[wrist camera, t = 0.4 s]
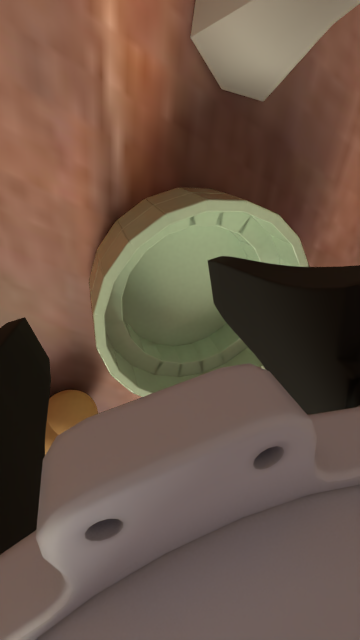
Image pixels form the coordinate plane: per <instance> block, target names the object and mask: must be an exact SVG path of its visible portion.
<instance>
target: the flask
mask: <svg viewBox="0 0 360 640" xmlns="http://www.w3.org/2000/svg"><path fill="white" fill-rule="evenodd" d="M358 4H360V0H196V1H195V8H194V15H193V23H192V30H191V37H190V38H191V39H192V41H193V43H194V44H195V46H196V48H197V49H198V51H199V53H200V54H201V56H202V57H203V59H204V61H205V62H206V64H207V66H208V67H209V69H210V71H211V72H212V74H213V76H214V77H215V79H216V81H217V82H218V84H219V86H220V87H221V89H223V90H226V91H229V92H233V93H236V94H239V95H243V96H246V97H250V98H253V99H256V100H260V101H264V100H265V99H266V98H267V97H268V96H269V95H270V94H271V93H272V92H273V91H274V89H275V88H276V87H277V86H278V85H279V84H280V83H281V82H282V81H283V79H284V78H285V77H286V76H287V75H288V74H289V73H290V72H291V71H292V70H293V68H294V67H295V66H296V65H297V64H298V63H299V62H300V61H301V60H302V58H303V57H304V56H305V55H306V54H307V53H308V52H309V50H310V49H311V48H312V47H313V46H314V45H315V43H316V42H317V41H318V40H319V39H320V38H321V37H322V36H323V35H324V34H325V33H326V31H327V30H328V29H329V28H330V27H331V26H332V25H333V24H334V23H335V22H337V21H338V20H339V19H340V18H342V17H343V16H344V15H346V14H347V13H348V12H349V11H351V10H352V9H353V8H354V7H356V6H357V5H358Z"/></svg>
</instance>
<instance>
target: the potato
mask: <svg viewBox="0 0 360 640" xmlns="http://www.w3.org/2000/svg"><path fill="white" fill-rule="evenodd" d="M96 414H98V411H97V407H96V404H95V402H94V401H93V400H92V398H91V397H90V396H89V395H87V394H86V393H84V392H81V391H78V390H65V391H61V392H59V393H57V394H55V395H53V396H52V397H51V398H49V405H48V414H47V423H46V433H45V455H46V453H47V452H48V450H49V448H50V447H51V445H52V443H53V442H54V440H55V438H56V437H57V436H58V435H60V434H61V433H63V432H64V431H66V430H68V429H69V428H71V427H73V426H74V425H76V424H78V423H79V422H81V421H83V420H84V419H86V418H88V417H91V416H93V415H96Z"/></svg>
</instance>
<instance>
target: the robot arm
mask: <svg viewBox="0 0 360 640" xmlns="http://www.w3.org/2000/svg"><path fill="white" fill-rule="evenodd" d="M207 261H208V267H209V274H210V281H211V288H212V295H213V302H214V305H215V306H216V308H217V310H218V311H219V313H220V315H221V316H222V318H223V319H224V321H225V322H226V323H227V324H228V325H229V326H230V327H231V329H232V330H233V331H234V332H235V333H236V334H237V335H238V336H239V338H240V339H241V340H242V341H243V342H244V343H245V344H246V345H247V347H248V348H249V349H250V350H251V351H252V352H253V353H254V354H255V356H256V357H257V358H258V359H259V361H260V362H261V363H262V365H263V366H264V367H265V369H266V370H265V369H262V368H260V367H258V366H255V365H253V364H250V363H248V364H241V365H235V366H229V367H222V368H219V369H216V370H213V371H211V372H208V373H205V374H203V375H200V376H197V377H195V378H192V379H189V380H187V381H184V382H181V383H179V384H176V385H173V386H171V387H168V388H165V389H163V390H160V391H157V392H155V393H152V394H149V395H147V396H144V397H141V398H139V399H136V400H133V401H131V402H128V403H125V404H123V405H120V406H117V407H115V408H112V409H109V410H107V411H104V412H101V413H99V414H96V415H93V416H91V417H88V418H86V419H84V420H83V421H81V422H79V423H78V424H76V425H74V426H73V427H71V428H69V429H68V430H66V431H64V432H63V433H61V434H60V435H58V436H57V437H56V438H55V440H54V442H53V443H52V445H51V447H50V448H49V450H48V452H47V453H46V455H45V433H46V423H47V414H48V405H49V395H50V384H51V375H50V362H49V358H48V356H47V354H46V353H45V351H44V349H43V348H42V346H41V344H40V342H39V341H38V339H37V337H36V336H35V334H34V332H33V330H32V329H31V327H30V325H29V324H28V322H27V320H26V318H25V317H24V318H21V319H18V320H15V321H12V322H8V323H7V324H5V325H4V326H2V327H1V328H0V640H360V265H359V266H345V267H298V266H286V265H278V264H270V263H264V262H258V261H253V260H247V259H242V258H236V257H230V256H220V257H217V258H214V259H210V260H207Z"/></svg>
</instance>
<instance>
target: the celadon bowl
mask: <svg viewBox="0 0 360 640" xmlns="http://www.w3.org/2000/svg"><path fill="white" fill-rule="evenodd" d="M220 256H230V257H236V258H242V259H247V260H253V261H258V262H264V263H270V264H278V265H286V266H298V267H309V264H308V261H307V258H306V256H305V253H304V250H303V247H302V244H301V241H300V238H299V236H298V235H297V234H296V233H295V232H294V231H293V230H292V229H291V228H290V226H289V225H288V224H287V223H286V222H285V221H284V220H283V219H282V218H281V217H280V215H278V214H277V213H275V212H272V211H270V210H268V209H266V208H263V207H261V206H259V205H256V204H254V203H252V202H250V201H247V200H244V199H241V198H238V197H235V196H232V195H229V194H226V193H223V192H220V191H217V190H214V189H211V188H186V187H179V188H175V189H172V190H169V191H166V192H163V193H160V194H157V195H154V196H151V197H148V198H146V199H144V200H142V201H141V202H140V203H138V204H137V205H136V206H135V207H133V208H132V209H131V210H129V211H128V212H127V213H125V214H124V215H123V216H121V217H120V218H119V219H118V220H117V221H116V222H115V223H114V225H113V226H112V228H111V229H110V231H109V232H108V233H107V235H106V236H105V238H104V239H103V241H102V242H101V244H100V245H99V247H98V248H97V251H96V255H95V259H94V263H93V267H92V270H91V274H90V278H89V288H90V299H91V309H92V317H93V325H94V333H95V341H96V348H97V350H98V352H99V354H100V356H101V358H102V360H103V362H104V364H105V365H106V367H107V369H108V371H109V373H110V374H111V376H113V377H114V378H115V379H116V380H117V381H119V382H120V383H121V384H122V385H123V386H125V387H126V388H127V389H128V390H129V391H131V392H132V393H134V394H136V395H139V396H142V397H144V396H147V395H149V394H152V393H155V392H157V391H160V390H163V389H165V388H168V387H171V386H173V385H176V384H179V383H181V382H184V381H187V380H189V379H192V378H195V377H197V376H200V375H203V374H205V373H208V372H211V371H213V370H216V369H219V368H222V367H229V366H235V365H241V364H248V363H250V364H253V365H255V366H258V367H260V368H262V369H265V367H264V366H263V365H262V363H261V362H260V361H259V359H258V358H257V357H256V356H255V354H254V353H253V352H252V351H251V350H250V349H249V348H248V347H247V345H246V344H245V343H244V342H243V341H242V340H241V339H240V338H239V336H238V335H237V334H236V333H235V332H234V331H233V330H232V329H231V327H230V326H229V325H228V324H227V323H226V322H225V321H224V319H223V318H222V316H221V315H220V313H219V311H218V310H217V308H216V306H215V305H214V302H213V295H212V288H211V281H210V274H209V267H208V261H207V260H210V259H214V258H217V257H220Z"/></svg>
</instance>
